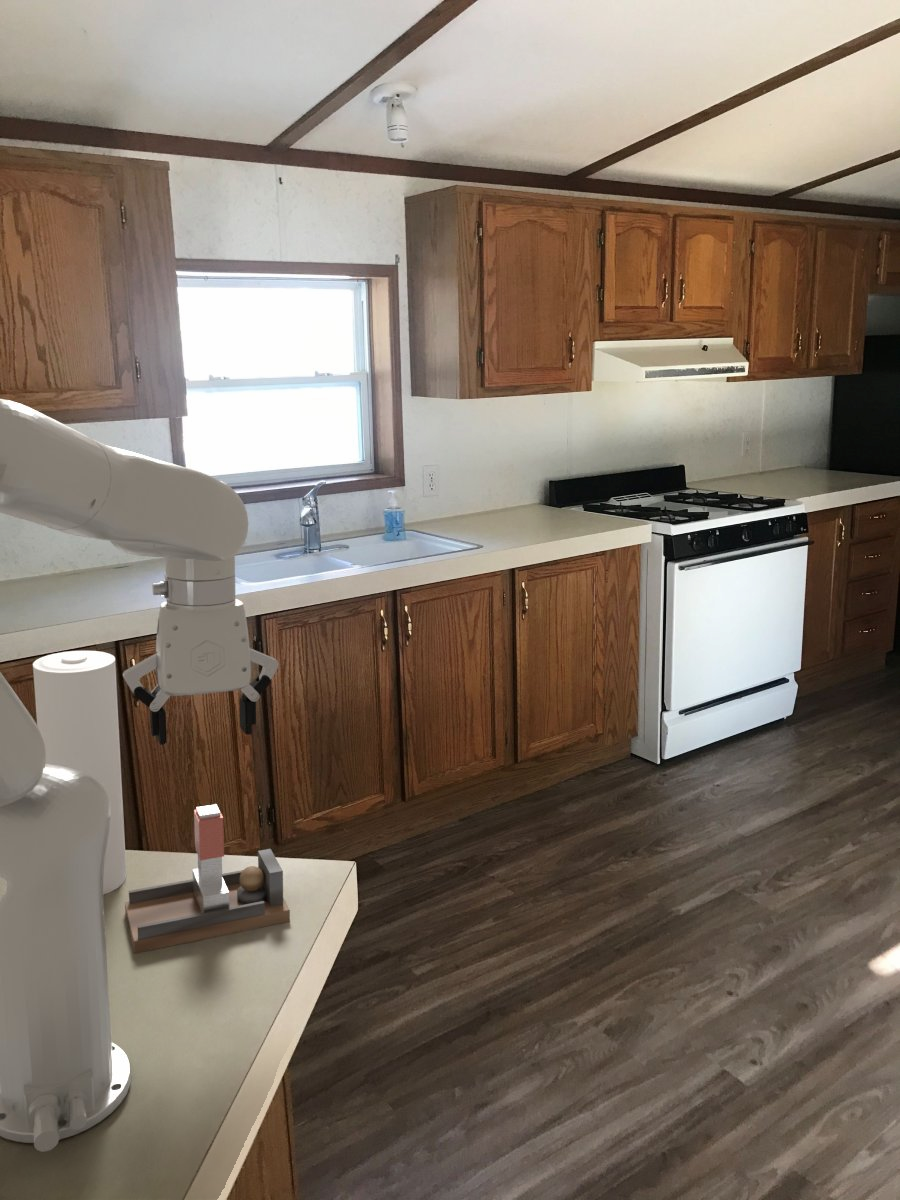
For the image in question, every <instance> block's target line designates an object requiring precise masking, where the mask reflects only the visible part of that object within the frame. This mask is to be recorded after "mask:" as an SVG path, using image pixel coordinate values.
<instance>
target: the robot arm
mask: <svg viewBox="0 0 900 1200" xmlns="http://www.w3.org/2000/svg"><path fill="white" fill-rule="evenodd" d="M0 513H1V514H4V515H7V516H10V517H14V518H17V519H20V520H25V521H28V522H30V523H35V524H36V525H37V524H38V525H41V526H44V527H47V528H49V529H53V530H55V531H58V532H62V533H64V534H68V535H72V536H76V537H82V538H89V539H96V540H102V541H109V542H110V544H112V545H113V546H114V547H115V548H116V549H118V550H120V551H122V552H123V553H126V554H129V555H134V556H139V557H149V558H165V559H164V560H165V564H164V565H165V574H164V578H163V579H162V581H159V582H154V583H152V587H151V588H152V594H153V596H160V597H163V598H164V599H166V601H163V602H162V603H160V608H159V611H158V612H159V613H158V619H157V628H156V641H155V653H153V654H152V655H150V656H148V657H147V658H145V659H143V660H142V661H139V662H138V663H136V664H134V665H132V666H131V667H129V668H128V669H125V670H124V671H123V672H122V677H123V679H124V681H125V682H126V685H127V686H128V687H129V690H130V691H131V693H133V695H134V697H135V698H136V699H138V701H140V702H141V703H142V704H144V705H145V706H146V707H148V708H149V714H150V715H149V717H150V734H151V736H152V737H156V739H157V741H158V743H159V745H160V746H161V745H166V744H167V741H168V740H167V738H168V737H167V713H166V710H165V708H164V704H165V703H166V702H167V701H168V699H170V697H171V696H176V697H177V696H178V697H179V696H180V697H182V696H191V695H203V694H211V693H212V694H213V693H221V692H222V693H223V692H233V691H238V690H240V691H241V692H242V693H241V694H240V696H239V726H240V727H239V728H240V729H241V730H242V732H243V733H244V735H247V736H248V735H249V736H250V735H252V734H253V733H252V732H253V731H252V728H253V727H252V726H253V725H257V701H258V700H259V699H260V696H261V694H263V692H264V691H266V689H267V688H268V687H269V686H270V685H271V684H272V679H273V678H274V676H275V673H276V672H277V670H278V668H279V665H280V664H279V661H278V660H277V659H276V658H274V657H273V656H269V655H267V654H265V653H263V652H260V651H258V650H255V649H253V648H251V647H250V640H249V639H250V637H249V629H248V621H247V615H246V610H245V606H244V602H242V601H241V600H240V599H237V598H236V597H237V596H236V561H235V559H236V555H237V554H238V553H239V552H240V551H241V550H242V548H243V546H244V544H245V542H246V539H247V536H248V532H249V515H248V512H247V509H246V507H245V504H244V502H243V500H242V498H241V497H240V496H239V494H238V492H236V491H235V490H234V489H233V488H232V487H231V486H230V484H228V483H227V482H224V481H222V480H219V479H217V478H215V477H212V476H211V475H209V474H207V473H203V472H200V471H199V470H195V469H192V468H188V467H184V466H181V465H177V464H175V463H170V462H166V461H163V460H159V459H155V458H152V457H150V456H146V455H143V454H140V453H137V452H134V451H130V450H126V449H122V448H118V447H114V446H110V445H107V444H104V443H102V442H100V441H98V440H96V439H94V438H92V437H90V436H87V435H86V434H84V433H82V432H80V431H78V430H75V429H74V428H72V427H70V426H67V425H66V424H64V423H62V422H60V421H58V420H56V419H54V418H52V417H50V416H49V415H48V416H47V415H46V414H44V413H42V412H39V411H38V410H35V409H34V408H31V407H29V406H27V405H24V404H23V403H19V402H16V401H13V400H10V399H3V398H0ZM251 662H252V663H255V664H257V665H260V666H261V667H262V668H261V671H260V673H259V674H258V675H257V676H256V677H255V679H254V680H253V681H251V680H252V663H251ZM154 670H155V676H156V681H157V683H156V685H155V687H154V688H153V689H152V690H151V691H150V690H148V689H147V688H146V687H145V686H144V685H142V683H141V681H140V679H141V678H142V677H144V676H146V675H147V674H149V673H151V672H153V671H154ZM45 763H46V749H45V744H44V740H43V738H42V735H41V733H40V730H39V728H38V726H37V721H35V719H34V718H33V716H32V715H31V714H30V712H29V710H28V709H27V708H26V707H25V705H24V703H23V702H22V700H21V699H20V698H19V696H18V695H17V694H16V692H15V691H14V689H13V688H12V686H11V685H10V683H9V681H8V680H6V678H5V676H4V675H3V673H2V672H1V671H0V878H2V879H3V880H5V881H6V885H7V886H6V891H5V893H4V894H3V895H2V897H1V898H0V1137H1V1138H3V1139H6V1140H10V1141H12V1142H17V1143H27V1144H33V1146H34V1148H35V1149H36V1150H37V1152H38V1151H39V1152H42V1153H44V1152H50V1151H51V1150H53V1149H54V1148H56V1146H57V1145H58V1144H59V1140H63V1139H65V1138H69V1137H72V1136H76V1135H78V1134H80V1133H82V1132H85V1131H87V1130H88V1129H91V1128H92V1127H94V1126H96V1125H97V1124H99V1123H100V1122H102V1121H103V1120H105V1118H107V1117H108V1116H109V1115H111V1114H112V1113H113V1112H114V1111H115V1110H116V1109H117V1107H119V1106H120V1104H121V1103H122V1102H123V1100H124V1099H125V1098H126V1096H127V1094H128V1092H129V1089H130V1086H131V1081H132V1066H131V1062H130V1059H129V1056H128V1055H127V1053H126V1052H125V1050H124V1049H122V1048H121V1047H120V1046H118V1045H117V1044H116V1043H114V1042H113V1041H112V1025H111V1011H110V1010H111V1007H110V992H109V976H108V975H109V973H108V960H107V959H108V957H107V943H106V941H107V940H106V924H105V907H104V906H105V905H104V895H103V877H104V863H105V856H106V848H107V842H108V836H109V829H110V820H111V807H110V801H109V798H108V795H107V793H106V791H105V789H104V788H103V787H102V785H101V784H100V783H99V782H98V781H96V780H95V779H94V778H92V777H91V776H89V775H87V774H85V773H83V772H81V771H78V770H75V769H71V768H68V767H63V766H58V765H51V764H45Z"/></svg>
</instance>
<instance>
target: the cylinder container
mask: <svg viewBox="0 0 900 1200" xmlns="http://www.w3.org/2000/svg"><path fill="white" fill-rule="evenodd" d="M32 671H33V674H32V675H33V685H34V698H35V710H36V711H35V713H36V714H35V715H36V724H37V726H38V728H39V730H40V733H41V735H42V738H43V740H44V744H45V749H46V763H45V764H51V765H58V766H63V767H68V768H71V769H75V770H78V771H81V772H83V773H85V774H87V775H89V776H91V777H92V778H94V779H95V780H96V781H98V782H99V783H100V784H101V785H102V787H103V788H104V789H105V791H106V793H107V795H108V798H109V801H110V807H111V820H110V829H109V836H108V842H107V848H106V856H105V863H104V877H103V896H104V895H106V894H109V893H111V892H113V891H114V890H116V889H118V888H120V887H121V886H122V884H124V883H125V881H126V879H127V860H126V842H125V823H124V822H125V821H124V819H125V818H124V804H123V802H124V801H123V784H122V768H121V767H122V766H121V765H122V764H121V748H120V747H121V745H120V729H119V726H120V725H119V709H118V708H119V706H118V690H117V668H116V657H115V656H114V655H113V654H111V653H108V652H105V651H98V650H70V651H62V652H57V653H51V654H47V655H44V656H42V657H39V658H37V659H36V660H35V661H33V662H32Z"/></svg>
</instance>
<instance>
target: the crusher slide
mask: <svg viewBox="0 0 900 1200" xmlns="http://www.w3.org/2000/svg"><path fill="white" fill-rule="evenodd" d="M193 820H194V821H193V823H194V847H195V852H196V853H197V868H193V869H192V879H193V892H194V895H195V897H196V900H197V903H198V905H199V908H200V911H201V913H204V912H210V911H215V910H220V909H225V908H229V891H228V889H227V886H226V884H225V882H224V880H223V877H222V874H223V860H222V859H223V858H224V857H225V842H224V840H225V839H224V816H223V814H222V813H221V811H220V809H219V807H218V804H217V803H214V804H211V805H210V804H209V805H203V806H196V808H195V809H194V810H193Z"/></svg>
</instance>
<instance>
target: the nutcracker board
mask: <svg viewBox="0 0 900 1200" xmlns="http://www.w3.org/2000/svg"><path fill="white" fill-rule="evenodd" d="M222 877H223V880H224V882H225V884H226V886H227V889H228V891H229V908H225V909H220V910H215V911H210V912H204V913H201V911H200V908H199V905H198V903H197V900H196V897H195V895H194V892H193V878H192V879H186V880H182V881H175V882H169V883H165V884H159V885H153V886H149V887H148V886H147V887H143V888H142V887H141V888H138V889H131V890H128V898H129V900H128V901H125V902H124V908H125V909H124V910H125V912H124V913H125V918H126V921H127V926H128V930H129V935H130V939H131V943H132V947H133V951H134V954H137V953H138V954H139V953H143V952H147V951H152V950H158V949H162V948H166V947H172V946H176V945H182V944H186V943H190V942H191V943H192V942H195V941H196V942H197V941H201V940H205V939H211V938H216V937H219V936H220V937H221V936H225V935H228V934H229V935H230V934H234V933H238V932H244V931H249V930H254V929H258V928H262V927H267V926H272V925H278V924H282V923H287V922H290V921H291V919H290V918H291V916H290V915H291V912H290V911H291V909H290V908H289V906H288V904H287V902H286V900H285V899H284V871H283V868H282V867H281V865H280V862H279V861H278V860H277V858H276V856H275V853H273V851H272V849H271V848H267V849H262V850H257V866H254V865H252V866H248V867H247V866H246V867H245V868H244V869H242V870H236V871H230V872H225V873H222Z"/></svg>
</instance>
